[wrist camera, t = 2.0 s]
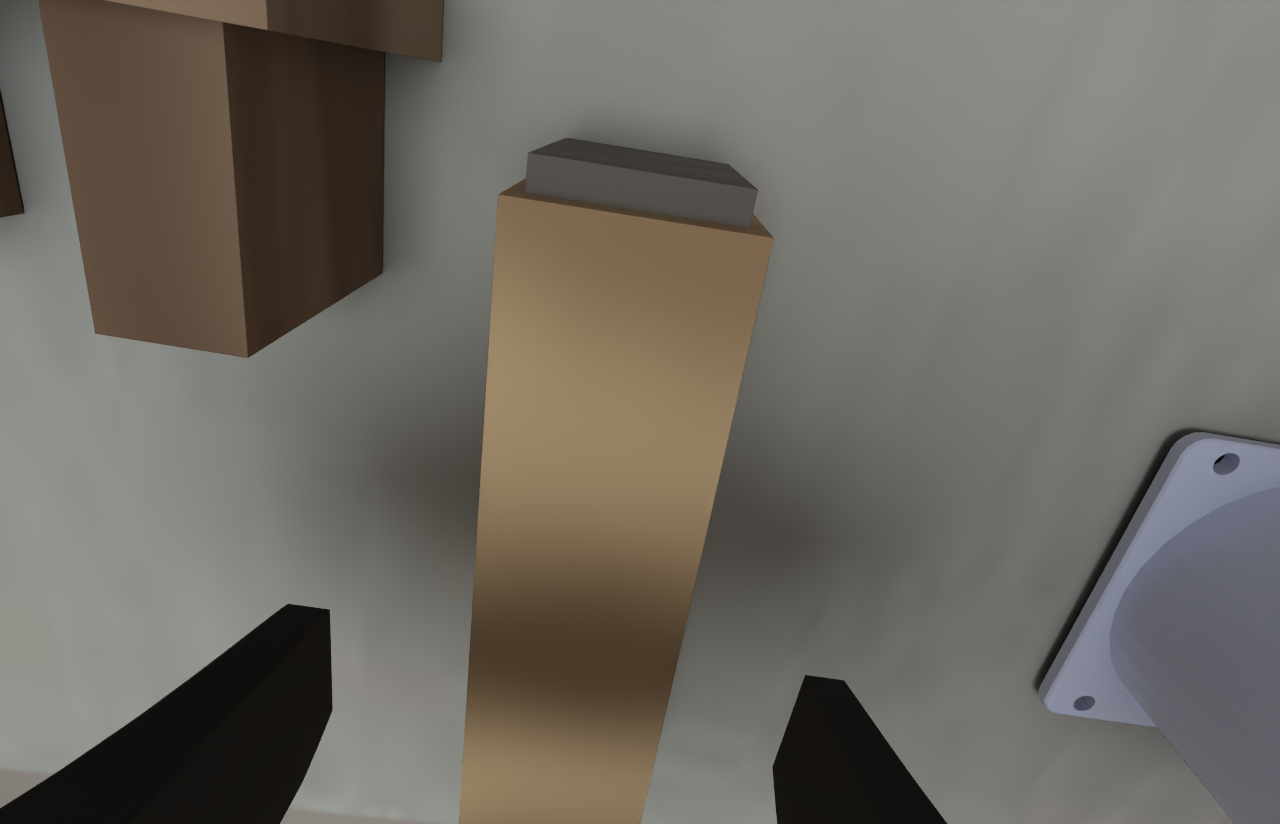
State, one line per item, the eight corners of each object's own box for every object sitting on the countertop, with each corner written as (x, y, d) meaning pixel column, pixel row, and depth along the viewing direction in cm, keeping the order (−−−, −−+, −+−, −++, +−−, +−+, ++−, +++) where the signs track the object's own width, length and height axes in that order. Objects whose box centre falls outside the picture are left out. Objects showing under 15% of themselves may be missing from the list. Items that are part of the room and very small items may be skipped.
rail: (555, 134, 13) (500, 151, 8) (738, 164, 13) (783, 197, 8) (503, 697, 19) (455, 887, 14) (629, 713, 19) (621, 905, 14)
